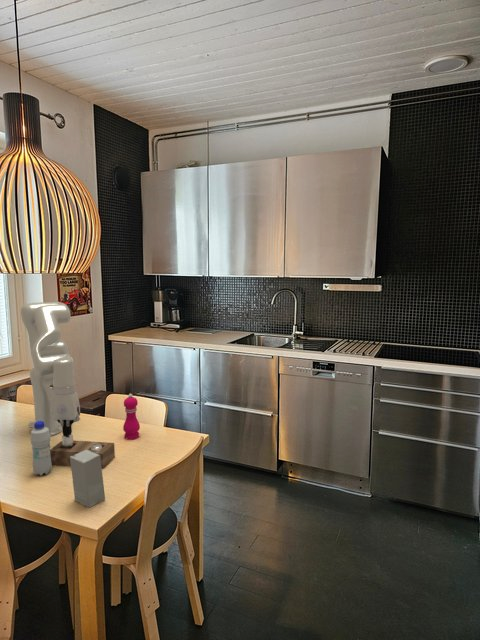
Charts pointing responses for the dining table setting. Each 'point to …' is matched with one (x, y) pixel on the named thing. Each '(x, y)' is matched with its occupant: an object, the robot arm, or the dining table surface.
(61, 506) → the dining table surface
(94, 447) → the peg
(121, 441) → the dining table surface
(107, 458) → the socket block
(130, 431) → the pepper mill
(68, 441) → the peg
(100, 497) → the skincare box
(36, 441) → the bottle
